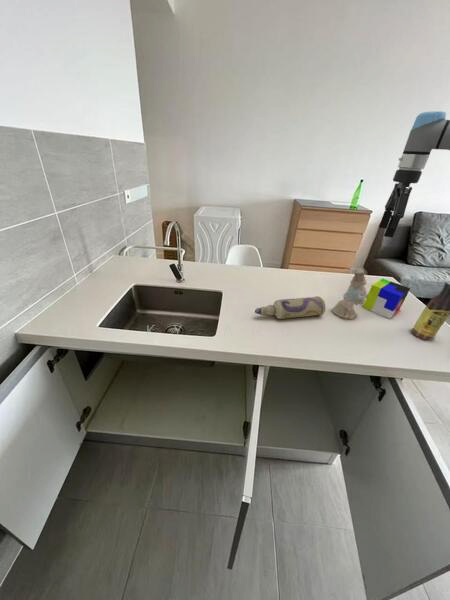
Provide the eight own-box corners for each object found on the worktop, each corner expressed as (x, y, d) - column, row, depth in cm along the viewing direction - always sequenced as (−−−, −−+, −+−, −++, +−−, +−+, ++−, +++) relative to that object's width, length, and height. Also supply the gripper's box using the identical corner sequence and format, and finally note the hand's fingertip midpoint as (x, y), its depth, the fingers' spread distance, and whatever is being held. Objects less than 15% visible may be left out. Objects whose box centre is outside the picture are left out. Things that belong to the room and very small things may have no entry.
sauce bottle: (418, 340, 81) (450, 288, 71) (407, 328, 86) (435, 278, 76) (437, 341, 81) (472, 289, 71) (425, 329, 86) (456, 280, 76)
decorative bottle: (313, 307, 96) (317, 292, 92) (323, 318, 89) (328, 303, 86) (250, 311, 91) (252, 296, 87) (256, 324, 84) (259, 308, 81)
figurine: (338, 320, 89) (356, 270, 78) (328, 307, 96) (344, 260, 85) (361, 320, 89) (382, 271, 79) (350, 308, 96) (368, 261, 86)
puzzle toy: (389, 318, 91) (400, 296, 86) (362, 306, 98) (371, 284, 92) (399, 310, 97) (410, 288, 92) (373, 299, 103) (382, 278, 98)
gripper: (390, 167, 93) (370, 223, 104) (405, 170, 73) (378, 239, 84) (413, 168, 91) (390, 226, 102) (434, 172, 71) (403, 242, 82)
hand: (385, 232), depth 93 cm, fingers open, 13 cm apart
